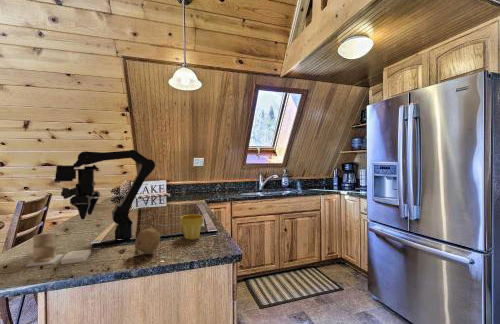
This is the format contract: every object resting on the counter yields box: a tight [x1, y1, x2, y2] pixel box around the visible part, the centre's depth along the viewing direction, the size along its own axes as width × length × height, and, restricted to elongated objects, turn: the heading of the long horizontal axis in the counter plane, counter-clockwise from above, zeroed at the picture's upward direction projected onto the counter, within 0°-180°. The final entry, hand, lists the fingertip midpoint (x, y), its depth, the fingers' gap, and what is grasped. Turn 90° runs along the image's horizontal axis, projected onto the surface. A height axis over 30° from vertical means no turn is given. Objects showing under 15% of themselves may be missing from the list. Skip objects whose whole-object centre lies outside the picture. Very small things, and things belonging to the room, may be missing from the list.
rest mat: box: [25, 253, 64, 268], centre depth 91 cm, size 8×8×1 cm
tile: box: [60, 249, 92, 265], centre depth 93 cm, size 7×2×8 cm
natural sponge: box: [134, 228, 161, 256], centre depth 97 cm, size 9×9×10 cm
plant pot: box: [180, 214, 204, 240], centre depth 117 cm, size 10×10×10 cm
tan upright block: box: [32, 232, 57, 263], centre depth 91 cm, size 6×5×9 cm
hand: (86, 216), depth 108 cm, fingers open, 9 cm apart
